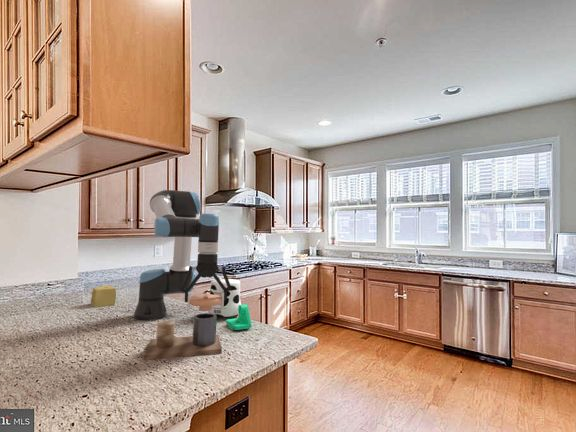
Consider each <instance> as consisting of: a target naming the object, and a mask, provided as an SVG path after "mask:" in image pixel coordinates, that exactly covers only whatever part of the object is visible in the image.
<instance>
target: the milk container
mask: <svg viewBox="0 0 576 432" xmlns="http://www.w3.org/2000/svg"><path fill="white" fill-rule="evenodd" d="M219 279H220V281H221V282H222V283H223V285H224V286H225V288H227V284H226V282H225V279H224V278H219ZM228 280H229V283H230V285H231V288H232V290H230V291H228V292H227V299H226V300H224V309H223V310H222V309H221V304H219V305H215V306H212V310H209V311H207V313H212V314H215V315H216V316H217V319H232V318H235V317H238V316H239V313H238V306H239V305H242V302H241V301H242V300H241V280H239V279H234V278H233V279H232V278H228ZM209 286H210V288H209V294H213V295H219V296H221V293H222V291H223V289H222V288H221V286H220V285H219V284H218V282H217V281H216V280H215V279H212V280H211V281H210V285H209Z"/></svg>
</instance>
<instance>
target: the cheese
mask: <svg viewBox="0 0 576 432" xmlns="http://www.w3.org/2000/svg"><path fill="white" fill-rule="evenodd" d="M116 299H117V289H116V287H114V286H112V285H102V286H98V287H94V288H93V289H92V291H91V297H90V304H91V305H92V307H94V308H101V307H109V306H111V307H112V306H115V304H116Z"/></svg>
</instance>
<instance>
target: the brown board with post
mask: <svg viewBox="0 0 576 432" xmlns="http://www.w3.org/2000/svg"><path fill="white" fill-rule="evenodd" d="M175 325H176V323H175V321H171V320H166V321H160V322H158V323H157V329H156V338H150V339H149V342H148V345H147V348H146V350H145V353H144V356H143V357H144V358H143V360H154V359H155V360H156V359H168V358H179V357H189V356H204V355H216V354H217V355H218V354H222V352H223V351H222V349H223V348H222V344H221V340H220V336H219V334H216V342H215V343H214V344H213V345H210V346H205V347H200V346H195V345H193V343H192V340H193V335H192V336H181V337H179V336H178V337H175V328H176V327H175Z"/></svg>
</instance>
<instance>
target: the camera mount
mask: <svg viewBox="0 0 576 432" xmlns="http://www.w3.org/2000/svg"><path fill="white" fill-rule="evenodd" d="M238 313H239V315H237V317H236V318H235V317H234V318H227V319H226V324H227V325H228V328H229V329H230V330H233V331H234V330H235V331H239V330H245V329H251V328H252V320H251V316H250V310H249V306H248V304H247V303H246V304H245V303H244V304H241V305H239V306H238Z"/></svg>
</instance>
